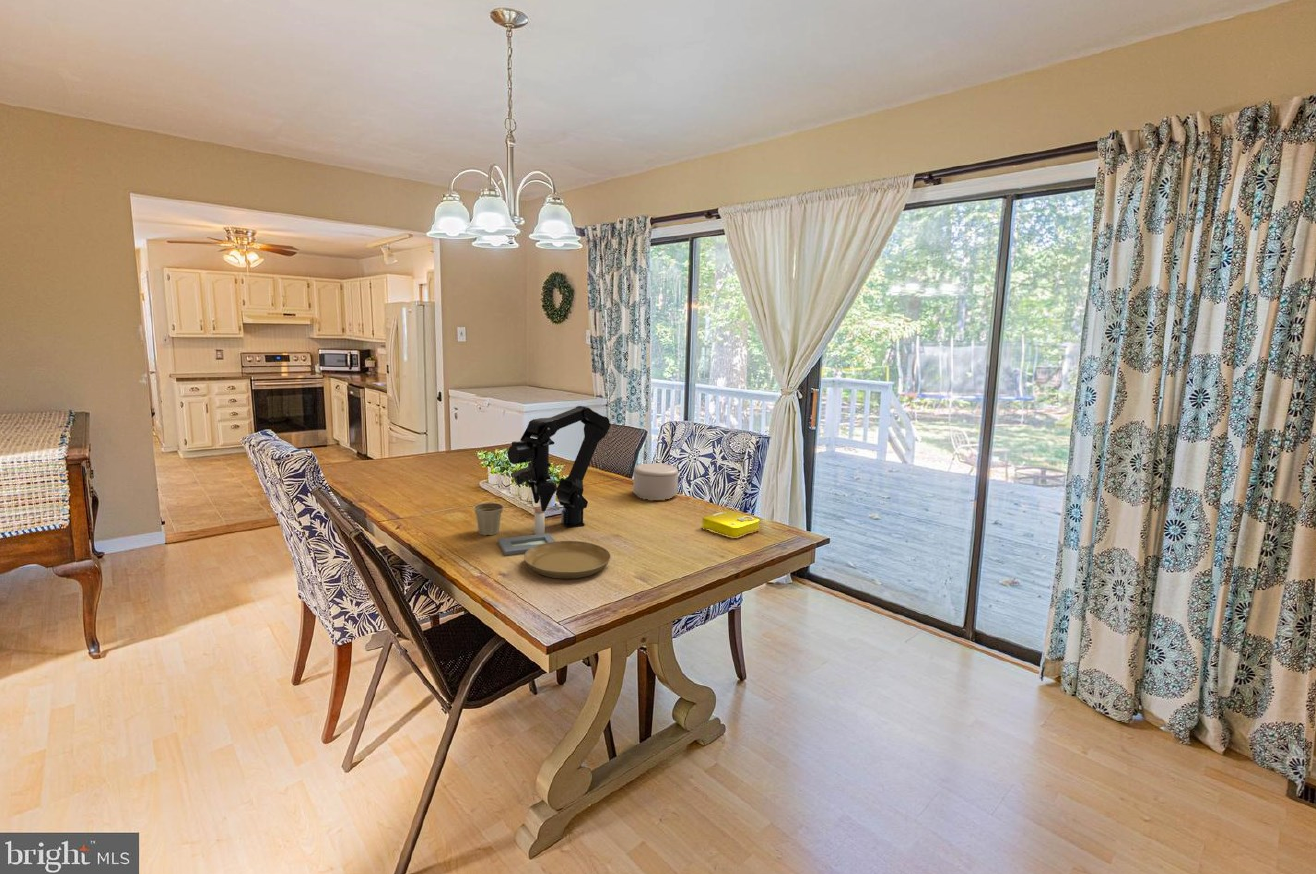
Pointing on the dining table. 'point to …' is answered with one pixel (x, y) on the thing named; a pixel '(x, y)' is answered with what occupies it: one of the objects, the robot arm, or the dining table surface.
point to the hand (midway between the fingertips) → (539, 507)
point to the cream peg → (539, 521)
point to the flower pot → (488, 517)
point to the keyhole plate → (523, 543)
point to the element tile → (730, 523)
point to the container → (655, 481)
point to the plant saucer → (567, 559)
